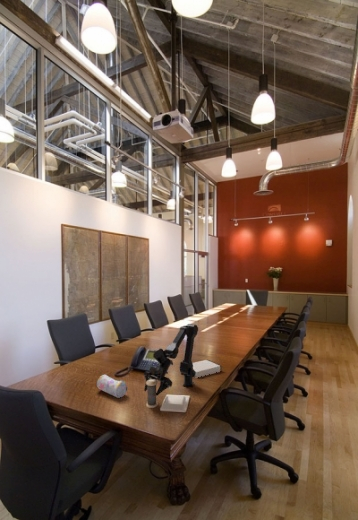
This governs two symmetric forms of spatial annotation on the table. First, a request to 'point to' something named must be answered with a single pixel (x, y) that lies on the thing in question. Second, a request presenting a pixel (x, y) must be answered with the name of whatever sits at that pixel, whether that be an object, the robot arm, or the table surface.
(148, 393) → the disc
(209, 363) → the disc drive
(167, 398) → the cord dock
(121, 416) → the table surface
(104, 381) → the pencil case
